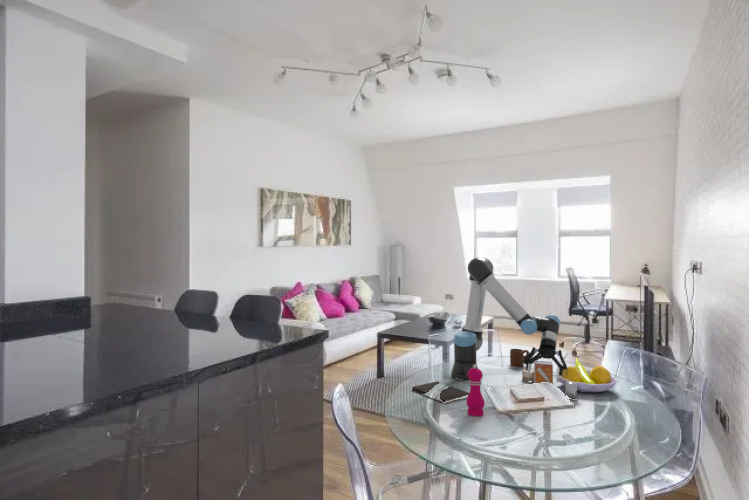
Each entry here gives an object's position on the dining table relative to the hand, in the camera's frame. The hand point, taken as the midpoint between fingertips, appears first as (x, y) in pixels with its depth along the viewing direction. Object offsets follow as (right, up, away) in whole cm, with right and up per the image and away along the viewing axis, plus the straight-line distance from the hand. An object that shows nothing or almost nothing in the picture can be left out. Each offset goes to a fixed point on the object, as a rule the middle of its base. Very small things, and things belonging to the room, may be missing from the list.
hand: (542, 378), depth 200 cm
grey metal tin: (+8, -5, -12) cm, 15 cm away
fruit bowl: (+23, -6, +4) cm, 24 cm away
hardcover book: (-50, -7, -4) cm, 50 cm away
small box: (+1, -6, +2) cm, 6 cm away
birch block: (0, -6, +17) cm, 18 cm away
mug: (+6, -7, +48) cm, 49 cm away
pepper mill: (-39, -5, -30) cm, 50 cm away
